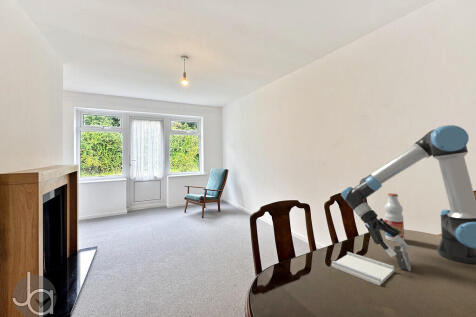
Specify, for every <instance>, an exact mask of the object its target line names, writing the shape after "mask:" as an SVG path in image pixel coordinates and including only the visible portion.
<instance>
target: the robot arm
mask: <svg viewBox="0 0 476 317" xmlns="http://www.w3.org/2000/svg"><path fill="white" fill-rule="evenodd" d="M469 140H470V139H469V133H468V132H467V131H466V130H465V129H464V128H463V127H461V126H458V125H455V124H454V125H453V124H451V125H450V124H449V125H441V126H439V127H437V128H435V129H432V130H430V131H428V132H427V133H426V134H425V135H423V136H422V137H421V138H420V139H418V140H417V141H416V142H414V143H413V145H412V146H411V147H410V148H409V149H407V150H406V151H404V152H403V153H401V154H399V155H397V157H395V158H393V159H392V160H390V161H388V162H387V163H386V164H384V165H382V166H381V167H379V168H378V169H376V170H375V171H373V172H372V173H371V174H369V175H367V176H366V177H363V178H361V179H360V181H359V184H358V185H356V186H355V187H352V186H348V187H346V188H344V189H343V190H342V191H341V193H340V195H341V197H342V198H343V200H344V202H346V203H347V204H348V206H349V207H350V208H351V209H352V210H353V211H354V212H355V214H356V215H357V216H358V217H360V219H361V221H362V222H363V223H364V226H365V228H366V229H367V230H368V233H369V234H370V237H371V239H372V240H373V242H374V243H375V244H376V245H378V246H379V245H380V246H381V248H382V249H383V250H384V251H385V252H386V253H387V254H388V256H389V257H390V258H393V257H394V256H395V255H396V253H395V252H394V248H392V247H391V246H390V245H389V244H388V243H387V241H386V240H384V239H383V237H382V233H381V231H384V233H385V232H386V233H388V234H390V235H391V236H393V237H394V239H395V240H396V243H397V244H398V246H401V244H403V245H404V247H405V249H406V250H407V249H409V248H410V246H409V244H407V243H406V241H405V240H404V241H403V239H402V238H401V237H400V236H399V235H398V234H400V233H399V232H398V231H397V230H396V229H394V228H393V227H392V226H390V225H389V224H388V223H386V222H385V219H384V218H382V217H380V218H378V216H379V215H378V213H376V211H375V210H374V209H372V207H371V206H370V205H369V204H368V203H367V202H366V201H365V200H366V199H367V198H368V197H369V196H371V195H373V194H374V193H375V192H377V191H379V190H380V189H381V188H382V186H383V185H382V184H384V183H385V182H388V180H390V179H392V178H394V177H395V176H397V175H399V174H400V173H402V172H403V171H405V170H407V169H408V168H410V167H412V166H413V165H416V163H418V162H420V161H421V160H423V159H425V158H427V159H428V158H430V157H432V158H434V159H435V160H437V162H438V165H439V168H440V173H441V177H442V181H443V184H444V185H443V186H444V188H445V193H446V197H447V200H448V204H449V208H450V209H442V210H441V211H440V215H439V216H440V227H441V228H440V229H441V232H440V233H441V239H440V242H439V243H438V246H437V254H439V255H440V256H441V257H443V258H445V259H448V260H452V261H455V262H460V263H465V264H476V197H475V193H474V188H473V185H472V181H471V177H470V174H469V170H468V167H467V163H466V159H465V156H466V155H467V154H468V153H469V151H468V147H467V144H468V143H469ZM395 257H396V256H395Z"/></svg>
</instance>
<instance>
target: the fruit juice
mask: <svg viewBox="0 0 476 317" xmlns="http://www.w3.org/2000/svg"><path fill="white" fill-rule="evenodd" d="M387 196H388V198H387V201H386V203H385V205H384V211H385V212H384V221H385V222H386V223H388V224H389V225H390V226H392V227H393V228H394V229H396V230H397V231H398V232H399V233H400V234H398V235H399V236H400V237H401V238H402V239H403V241H404V242H405V226H404V216H403V211H404V210H403V206H402V205H401V204H400V201H399V198H398V197H399V196H398V193H392V192H391V193H387ZM384 237H385V239H386V240H388V241H390V242H396V240H395V239H394V237H393V236H391V235H390V234H388V233H386V232H385V231H384ZM396 243H397V242H396Z"/></svg>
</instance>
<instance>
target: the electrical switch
mask: <svg viewBox="0 0 476 317" xmlns="http://www.w3.org/2000/svg"><path fill="white" fill-rule="evenodd" d="M393 251H394V252H395V253H396V255H395V258H396V261H397V264H398V267H399V269H400V270H407V271H408V272H411V271H412V264H411V260H410V257H409V253H408V251H407V249H405V247H404V245H403V244H401V246H400V245H394V248H393Z"/></svg>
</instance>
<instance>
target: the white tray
mask: <svg viewBox="0 0 476 317" xmlns="http://www.w3.org/2000/svg"><path fill="white" fill-rule="evenodd" d="M330 267H331V268H334V269H336V270H338V271H342V272H344V273H347V274H348V275H351V276H354V277H356V278H359V279H362V280H364V281H366V282H368V283H371V284H373V285H374V284H375V285H377V286H381V285H382V284H383V283H384V282H385V281H387V279H388V278H390V277H391V276H392V275H393V274H394V273H395V271H396V269H395V266H394V265H391V264H388V263H385V262H382V261H378V260H376V259H372V258H370V257H366V256H363V255H360V254H356V253H352V252H350V251H346V255H344V256H342V257H341V258H339V259H337V260H336V261H335V260H331V264H330Z"/></svg>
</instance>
